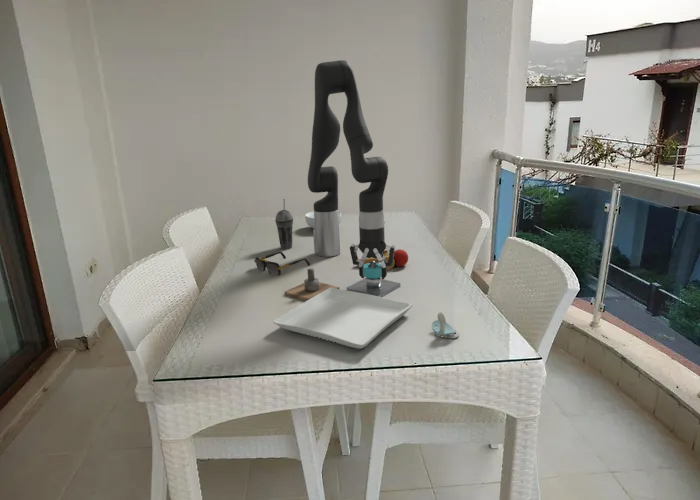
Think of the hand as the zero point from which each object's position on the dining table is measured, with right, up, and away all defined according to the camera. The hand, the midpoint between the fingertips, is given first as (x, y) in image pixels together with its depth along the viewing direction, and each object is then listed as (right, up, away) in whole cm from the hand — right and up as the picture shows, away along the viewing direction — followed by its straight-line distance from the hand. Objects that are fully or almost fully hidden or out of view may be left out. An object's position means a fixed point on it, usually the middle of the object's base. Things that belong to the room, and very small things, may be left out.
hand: (373, 277), depth 151 cm
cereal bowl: (-19, +18, +75) cm, 79 cm away
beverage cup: (-33, +9, +48) cm, 59 cm away
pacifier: (+17, -13, -30) cm, 36 cm away
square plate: (-9, -11, -21) cm, 26 cm away
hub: (0, -3, +1) cm, 4 cm away
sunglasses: (-32, +2, +25) cm, 40 cm away
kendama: (+4, +2, +21) cm, 22 cm away
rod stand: (-19, -5, 0) cm, 19 cm away
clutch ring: (0, +1, 0) cm, 1 cm away
